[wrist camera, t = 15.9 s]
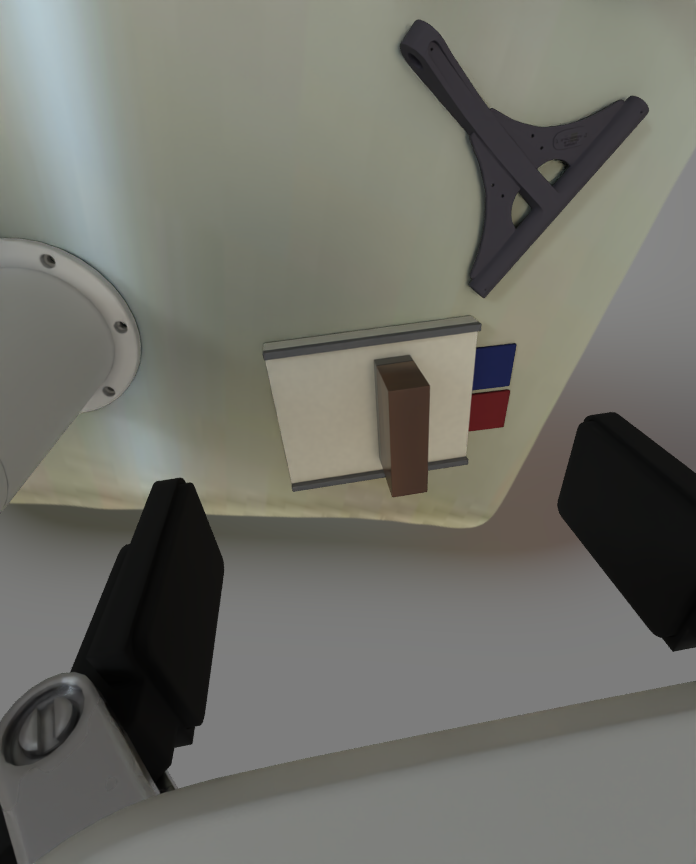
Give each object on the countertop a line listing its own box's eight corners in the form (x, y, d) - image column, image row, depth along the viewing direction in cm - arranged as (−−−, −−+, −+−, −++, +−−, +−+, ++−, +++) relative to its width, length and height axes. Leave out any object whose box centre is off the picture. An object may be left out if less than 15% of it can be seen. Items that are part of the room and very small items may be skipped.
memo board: (292, 477, 41) (292, 492, 39) (263, 343, 33) (262, 353, 31) (460, 451, 42) (468, 464, 40) (471, 315, 34) (482, 323, 32)
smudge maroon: (462, 430, 40) (463, 432, 40) (467, 394, 38) (468, 395, 38) (502, 425, 41) (503, 427, 40) (508, 389, 38) (510, 390, 38)
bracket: (494, -110, 21) (520, -142, 19) (635, 116, 28) (667, 113, 25) (328, 156, 27) (332, 156, 24) (478, 294, 33) (492, 304, 31)
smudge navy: (465, 389, 38) (467, 391, 37) (470, 348, 35) (471, 349, 35) (507, 384, 38) (509, 386, 38) (515, 343, 36) (516, 344, 35)
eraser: (379, 457, 39) (392, 497, 34) (373, 359, 33) (388, 391, 29) (410, 452, 39) (427, 492, 34) (410, 354, 33) (430, 385, 29)
